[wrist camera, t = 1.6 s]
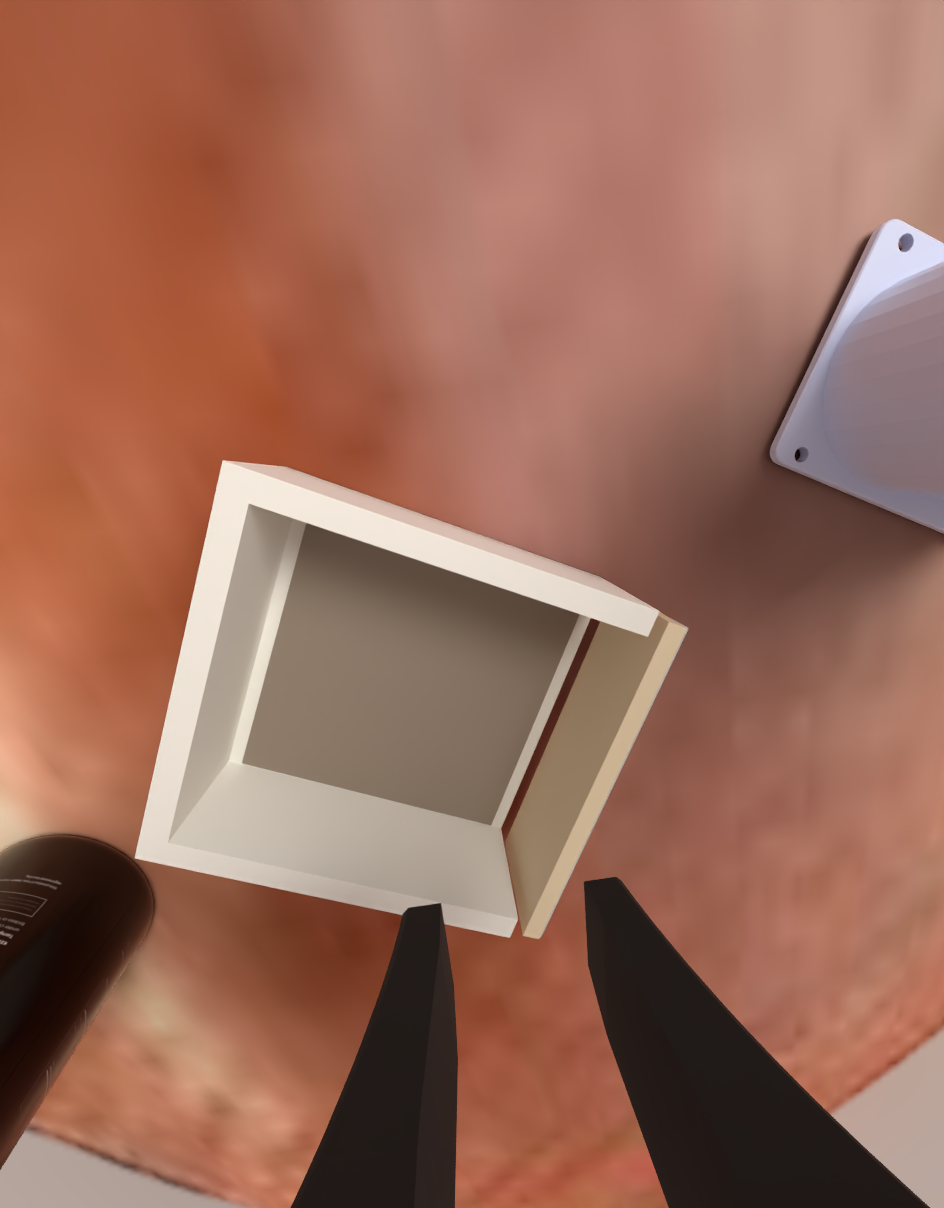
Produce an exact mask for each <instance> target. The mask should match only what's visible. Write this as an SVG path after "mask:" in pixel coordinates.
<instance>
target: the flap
mask: <svg viewBox="0 0 944 1208" xmlns="http://www.w3.org/2000/svg"><path fill="white" fill-rule="evenodd" d="M688 629H689V628H687V627H686V626H684V625H682V624H681V623H679V622H677V621H675V620H673V619H671V618H669V617H667V616H666V615H664V614H662V613H660V612H659V614H658V616H657V618H656V620H655V622H654V625H653V627H652V629H651V631H650V633H649V636H648V637H647V636H644V635H641V634H638V633H635V632H632V631H629V630H626V629H623V628H620V627H617V626H614V625H611V624H608V623H605V622H602V621H600V623H599V626H598V628H597V630H596V633H595V635H594V637H593V640H592V642H591V644H590V647H589V649H588V651H587V654H586V656H585V658H584V660H583V663H582V665H581V667H580V670H579V672H578V674H577V677H576V679H575V681H574V684H573V686H572V688H571V691H570V693H569V695H568V698H567V700H566V702H565V705H564V707H563V709H562V711H561V714H560V716H559V718H558V721H557V723H556V725H555V728H554V730H553V732H552V735H551V737H550V739H549V742H548V744H547V746H546V749H545V751H544V753H543V756H542V758H541V760H540V762H539V765H538V767H537V769H536V772H535V774H534V776H533V779H532V781H531V783H530V786H529V788H528V790H527V793H526V795H525V797H524V800H523V802H522V804H521V807H520V809H519V811H518V813H517V816H516V818H515V820H514V823H513V825H512V827H511V830H510V832H509V834H508V837H507V839H506V841H505V845H506V850H507V855H508V861H509V866H510V871H511V876H512V882H513V887H514V892H515V897H516V903H517V908H518V913H519V918H520V924H521V929H522V934H523V936H527V937H531V938H536V939H539V938H540V937H541V936H542V934H543V932H544V930H545V928H546V926H547V924H548V922H549V920H550V918H551V915H552V913H553V911H554V909H555V907H556V905H557V903H558V901H559V899H560V897H561V895H562V892H563V890H564V888H565V886H566V884H567V882H568V880H569V878H570V876H571V874H572V872H573V869H574V867H575V865H576V863H577V861H578V859H579V857H580V855H581V853H582V851H583V849H584V846H585V844H586V842H587V840H588V838H589V836H590V834H591V832H592V830H593V828H594V826H595V823H596V821H597V819H598V817H599V815H600V813H601V811H602V809H603V807H604V805H605V803H606V800H607V798H608V796H609V794H610V792H611V790H612V788H613V786H614V784H615V782H616V780H617V777H618V775H619V773H620V771H621V769H622V767H623V765H624V763H625V761H626V759H627V756H628V754H629V752H630V750H631V748H632V746H633V744H634V742H635V740H636V738H637V736H638V733H639V731H640V729H641V727H642V725H643V723H644V721H645V719H646V717H647V715H648V713H649V710H650V708H651V706H652V704H653V702H654V700H655V698H656V696H657V694H658V692H659V690H660V687H661V685H662V683H663V681H664V679H665V677H666V675H667V673H668V671H669V669H670V667H671V664H672V662H673V660H674V658H675V656H676V654H677V652H678V650H679V648H680V646H681V644H682V641H683V639H684V637H685V635H686V633H687V631H688Z"/></svg>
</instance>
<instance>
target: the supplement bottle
mask: <svg viewBox="0 0 944 1208" xmlns="http://www.w3.org/2000/svg"><path fill="white" fill-rule="evenodd" d="M152 915H153V897H152V892H151V889H150V886H149V883H148V881H147V880H146V878H145V876H144V875H143V873H142V872H141V870H140V869H139V868H138V867H137V865H136V864H135V863H134V862H133V861H132V860H130V859H129V858H128V857H127V856H125V855H124V854H123V853H121V852H120V851H118V850H116V849H114V848H113V847H110V846H108V845H106V844H104V843H101V842H99V841H95V840H92V839H88V838H84V837H78V836H68V835H53V836H44V837H38V838H33V839H29V840H26V841H23V842H20V843H17V844H15V845H13V846H11V847H9V848H7V849H5V850H3V851H2V852H0V1170H1V1168H2V1166H3V1165H4V1163H5V1162H6V1160H7V1158H8V1157H9V1155H10V1154H11V1152H12V1150H13V1149H14V1147H15V1145H16V1144H17V1142H18V1141H19V1139H20V1137H21V1136H22V1134H23V1133H24V1131H25V1129H26V1128H27V1126H28V1125H29V1123H30V1121H31V1120H32V1118H33V1117H34V1115H35V1113H36V1112H37V1110H38V1109H39V1107H40V1105H41V1104H42V1102H43V1101H44V1099H45V1097H46V1096H47V1094H48V1092H49V1091H50V1089H51V1088H52V1086H53V1084H54V1083H55V1081H56V1080H57V1078H58V1076H59V1075H60V1073H61V1072H62V1070H63V1068H64V1067H65V1065H66V1064H67V1062H68V1060H69V1059H70V1057H71V1055H72V1054H73V1052H74V1051H75V1049H76V1047H77V1046H78V1044H79V1043H80V1041H81V1039H82V1038H83V1036H84V1035H85V1033H86V1031H87V1030H88V1028H89V1027H90V1025H91V1023H92V1022H93V1020H94V1018H95V1017H96V1015H97V1014H98V1012H99V1010H100V1009H101V1007H102V1006H103V1004H104V1002H105V1001H106V999H107V998H108V996H109V994H110V993H111V991H112V990H113V988H114V986H115V985H116V983H117V982H118V980H119V978H120V977H121V975H122V973H123V972H124V970H125V969H126V967H127V965H128V964H129V962H130V961H131V959H132V957H133V955H134V954H135V952H136V950H137V949H138V947H139V945H140V944H141V942H142V940H143V939H144V937H145V935H146V933H147V931H148V929H149V927H150V923H151V920H152Z"/></svg>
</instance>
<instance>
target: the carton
mask: <svg viewBox="0 0 944 1208" xmlns="http://www.w3.org/2000/svg"><path fill="white" fill-rule="evenodd" d="M659 612H660V611H658V610H657V609H655V608H653V607H652V606H650V605H648V604H646V603H645V602H643V601H641V600H639V599H638V598H636V597H634V596H632V595H631V594H629V593H627V592H626V591H624V590H622V589H620V588H619V587H617V586H615V585H613V584H612V583H610V582H608V581H606V580H605V579H603V578H601V577H600V576H597V575H594V574H591V573H588V572H585V571H583V570H580V569H577V568H574V567H571V566H568V565H565V564H563V563H560V562H557V561H554V560H551V559H548V558H545V557H543V556H540V555H537V554H534V553H531V552H528V551H525V550H523V549H520V548H517V547H514V546H511V545H508V544H505V543H503V542H500V541H497V540H494V539H491V538H488V537H485V536H483V535H480V534H477V533H474V532H471V531H468V530H465V529H463V528H460V527H457V526H454V525H451V524H448V523H446V522H443V521H440V520H437V519H434V518H431V517H428V516H426V515H423V514H420V513H417V512H414V511H411V510H408V509H406V508H403V507H400V506H397V505H394V504H391V503H388V502H386V501H383V500H380V499H377V498H374V497H371V496H368V495H366V494H363V493H360V492H357V491H354V490H351V489H348V488H346V487H343V486H340V485H337V484H334V483H331V482H328V481H326V480H323V479H320V478H317V477H314V476H311V475H309V474H306V473H303V472H300V471H297V470H294V469H291V468H289V467H282V466H273V465H263V464H253V463H244V462H234V461H224V460H223V462H222V466H221V471H220V475H219V480H218V484H217V489H216V493H215V498H214V502H213V507H212V511H211V516H210V520H209V525H208V529H207V534H206V538H205V543H204V547H203V552H202V557H201V561H200V566H199V570H198V575H197V579H196V584H195V588H194V593H193V597H192V602H191V606H190V611H189V615H188V620H187V624H186V629H185V633H184V638H183V642H182V647H181V651H180V656H179V660H178V665H177V669H176V674H175V678H174V683H173V687H172V692H171V696H170V701H169V705H168V710H167V714H166V719H165V723H164V728H163V733H162V737H161V742H160V746H159V751H158V755H157V760H156V764H155V769H154V773H153V778H152V782H151V787H150V791H149V796H148V800H147V805H146V809H145V814H144V818H143V823H142V827H141V832H140V836H139V841H138V845H137V850H136V854H135V859H140V860H145V861H149V862H154V863H159V864H163V865H168V866H173V867H178V868H182V869H187V870H192V871H197V872H201V873H206V874H211V875H215V876H220V877H225V878H230V879H234V880H239V881H244V882H248V883H253V884H258V885H263V886H267V887H272V888H277V889H281V890H286V891H291V892H296V893H300V894H305V895H310V896H314V897H319V898H324V899H329V900H333V901H338V902H343V903H347V904H352V905H357V906H362V907H366V908H371V909H376V910H380V911H385V912H390V913H395V914H399V915H403V913H404V912H405V911H406V910H407V909H408V908H410V907H417V906H423V905H430V904H437V903H441V906H442V912H443V919H444V924H447V925H451V926H456V927H461V928H465V929H470V930H475V931H480V932H484V933H489V934H494V935H498V936H503V937H508V938H510V936H511V934H512V932H513V930H514V927H515V925H516V923H517V921H518V916H517V911H516V905H515V900H514V895H513V889H512V884H511V879H510V873H509V868H508V863H507V857H506V852H505V847H504V841H503V836H502V831H501V828H502V825H503V823H504V821H505V818H506V816H507V814H508V811H509V809H510V807H511V804H512V802H513V800H514V797H515V795H516V793H517V790H518V788H519V786H520V783H521V781H522V779H523V776H524V774H525V771H526V769H527V767H528V764H529V762H530V760H531V757H532V755H533V753H534V750H535V748H536V746H537V743H538V741H539V739H540V736H541V734H542V732H543V729H544V727H545V724H546V722H547V720H548V717H549V715H550V713H551V710H552V708H553V706H554V703H555V701H556V699H557V696H558V694H559V692H560V689H561V687H562V685H563V682H564V680H565V678H566V675H567V673H568V670H569V668H570V666H571V663H572V661H573V659H574V656H575V654H576V652H577V649H578V647H579V645H580V642H581V640H582V638H583V635H584V633H585V631H586V628H587V626H588V624H589V621H590V619H591V618H593V619H596V620H599V621H602V622H605V623H608V624H611V625H614V626H617V627H620V628H623V629H626V630H629V631H632V632H635V633H638V634H641V635H644V636H647V637H648V636H649V633H650V631H651V629H652V627H653V625H654V622H655V620H656V618H657V616H658V614H659Z"/></svg>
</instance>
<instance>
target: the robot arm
mask: <svg viewBox="0 0 944 1208" xmlns="http://www.w3.org/2000/svg"><path fill="white" fill-rule="evenodd" d="M899 241H900V242H901V244H902V249H901V251H900V249H899V247H898V242H899ZM797 449H799V450H800V458H799V459H798V460H797V461H796V460H795V457H794V455H795V452H796V451H797ZM770 457H771V459H772V461H773V462H774V463H776V464H778V465H780V466H783V467H785V468H787V469H790V470H792V471H795V472H797V473H799V474H802V475H804V476H807V477H809V478H811V479H814V480H816V481H818V482H821V483H823V484H826V485H828V486H830V487H833V488H835V489H838V490H840V491H842V492H845V493H847V494H850V495H852V496H854V497H857V498H859V499H862V500H864V501H866V502H869V503H871V504H873V505H876V506H878V507H881V508H883V509H885V510H888V511H890V512H893V513H895V514H897V515H900V516H902V517H905V518H907V519H909V520H912V521H914V522H917V523H919V524H921V525H924V526H926V527H928V528H931V529H933V530H936V531H938V532H940V533H943V534H944V243H942V242H940V241H938V240H936V239H935V238H933V237H931V236H929V235H927V234H925V233H923V232H922V231H920V230H918V229H916V228H914V227H912V226H910V225H909V224H907V223H905V222H903V221H901V220H898V219H892V220H889V221H887V222H885V223H884V224H882V225H880V226H879V227H878V228H876V229H875V230H874V232H873V233H872V235H871V237H870V239H869V241H868V243H867V245H866V247H865V250H864V252H863V254H862V256H861V258H860V260H859V262H858V264H857V266H856V268H855V271H854V273H853V275H852V277H851V279H850V281H849V283H848V285H847V287H846V290H845V292H844V294H843V296H842V298H841V300H840V302H839V304H838V306H837V308H836V311H835V313H834V315H833V317H832V319H831V321H830V323H829V325H828V327H827V329H826V332H825V334H824V336H823V338H822V340H821V342H820V344H819V346H818V348H817V350H816V353H815V355H814V357H813V359H812V361H811V363H810V365H809V367H808V369H807V372H806V374H805V376H804V378H803V380H802V382H801V384H800V386H799V388H798V390H797V393H796V395H795V397H794V399H793V401H792V403H791V405H790V407H789V409H788V411H787V414H786V416H785V418H784V420H783V422H782V424H781V426H780V428H779V430H778V432H777V435H776V437H775V439H774V441H773V443H772V445H771V448H770ZM584 891H585V911H586V930H587V950H588V966H589V970H590V974H591V977H592V981H593V985H594V989H595V993H596V996H597V1000H598V1004H599V1007H600V1011H601V1015H602V1018H603V1022H604V1026H605V1029H606V1033H607V1036H608V1039H609V1042H610V1045H611V1048H612V1050H613V1053H614V1056H615V1059H616V1062H617V1064H618V1067H619V1070H620V1073H621V1076H622V1079H623V1081H624V1084H625V1087H626V1090H627V1093H628V1095H629V1098H630V1101H631V1104H632V1106H633V1109H634V1112H635V1115H636V1118H637V1120H638V1123H639V1126H640V1129H641V1131H642V1134H643V1137H644V1140H645V1143H646V1145H647V1148H648V1151H649V1154H650V1156H651V1159H652V1162H653V1165H654V1168H655V1170H656V1173H657V1176H658V1179H659V1181H660V1184H661V1187H662V1190H663V1193H664V1195H665V1198H666V1201H667V1204H668V1207H669V1208H930V1207H929V1206H927V1205H926V1204H925V1203H924V1202H923V1201H922V1200H921V1199H920V1198H919V1197H918V1196H916V1195H915V1194H914V1193H913V1192H912V1191H911V1190H910V1189H909V1188H908V1187H907V1186H906V1185H905V1184H903V1183H902V1182H901V1181H900V1180H899V1179H898V1178H897V1177H896V1176H895V1175H894V1174H893V1173H891V1172H890V1171H889V1170H888V1169H887V1168H886V1167H885V1166H884V1165H883V1164H882V1163H881V1162H880V1161H878V1160H877V1159H876V1158H875V1157H874V1156H873V1155H872V1154H871V1153H870V1152H869V1151H868V1150H867V1149H865V1148H864V1147H863V1146H862V1145H861V1144H860V1143H859V1142H858V1141H857V1140H856V1139H855V1138H854V1137H853V1136H852V1135H851V1134H850V1133H849V1132H848V1131H847V1130H846V1129H845V1128H844V1127H843V1126H841V1125H840V1124H839V1123H838V1122H837V1121H836V1120H835V1119H834V1118H833V1117H832V1116H831V1115H830V1114H829V1113H828V1112H827V1111H826V1110H825V1109H824V1108H823V1107H822V1106H821V1105H820V1104H819V1103H818V1102H817V1101H816V1100H815V1099H814V1098H813V1097H812V1096H811V1095H810V1094H809V1093H808V1092H807V1091H806V1090H805V1089H804V1088H803V1087H801V1086H800V1084H799V1083H798V1082H797V1081H796V1080H795V1079H794V1078H793V1077H792V1076H791V1075H790V1074H789V1073H788V1072H787V1071H786V1070H785V1069H784V1068H783V1067H782V1066H781V1065H780V1064H779V1063H778V1062H777V1061H776V1060H775V1059H774V1058H773V1057H772V1056H771V1055H770V1054H769V1053H768V1052H767V1051H766V1050H765V1048H764V1047H763V1046H762V1045H761V1044H760V1043H759V1042H758V1041H757V1040H756V1039H755V1038H754V1037H753V1036H752V1035H751V1034H750V1033H749V1032H748V1031H747V1030H746V1029H745V1027H744V1026H743V1025H742V1024H741V1023H740V1022H739V1021H738V1020H737V1019H736V1018H735V1017H734V1016H733V1014H732V1013H731V1012H730V1011H729V1010H728V1009H727V1008H726V1007H725V1006H724V1005H723V1003H722V1002H721V1001H720V1000H719V999H718V998H717V997H716V996H715V994H714V993H713V992H712V991H711V990H710V989H709V988H708V986H707V985H706V984H705V983H704V982H703V981H702V980H701V979H700V977H699V976H698V975H697V974H696V973H695V972H694V971H693V969H692V968H691V967H690V966H689V965H688V964H687V963H686V961H685V960H684V959H683V958H682V957H681V956H680V954H679V953H678V952H677V951H676V950H675V948H674V947H673V946H672V945H671V944H670V942H669V941H668V940H667V939H666V937H665V936H664V935H663V934H662V933H661V931H660V930H659V929H658V928H657V926H656V925H655V924H654V923H653V921H652V920H651V919H650V918H649V916H648V915H647V914H646V913H645V911H644V910H643V909H642V908H641V906H640V905H639V904H638V902H637V901H636V900H635V898H634V897H633V896H632V894H631V893H630V892H629V890H628V889H627V888H626V886H625V885H624V884H623V882H622V881H621V880H619V879H618V878H617V877H612V878H605V879H599V880H592V881H585V882H584ZM457 1070H458V1056H457V1036H456V1017H455V999H454V984H453V978H452V971H451V965H450V958H449V952H448V945H447V938H446V932H445V925H444V919H443V912H442V906H441V903H437V904H430V905H423V906H417V907H410V908H408V909H407V910H406V911H405V912H404V913H403V916H402V920H401V924H400V928H399V932H398V936H397V940H396V943H395V947H394V950H393V954H392V957H391V960H390V963H389V966H388V970H387V973H386V976H385V979H384V982H383V985H382V988H381V991H380V994H379V997H378V999H377V1002H376V1005H375V1008H374V1010H373V1013H372V1016H371V1018H370V1021H369V1024H368V1027H367V1029H366V1032H365V1035H364V1038H363V1040H362V1043H361V1046H360V1048H359V1051H358V1054H357V1056H356V1059H355V1061H354V1064H353V1066H352V1069H351V1071H350V1073H349V1076H348V1078H347V1081H346V1083H345V1085H344V1088H343V1090H342V1093H341V1095H340V1097H339V1100H338V1102H337V1105H336V1107H335V1110H334V1112H333V1114H332V1117H331V1119H330V1122H329V1124H328V1126H327V1129H326V1131H325V1133H324V1136H323V1138H322V1140H321V1143H320V1145H319V1147H318V1149H317V1152H316V1154H315V1156H314V1158H313V1160H312V1163H311V1165H310V1167H309V1169H308V1172H307V1174H306V1176H305V1178H304V1180H303V1182H302V1185H301V1187H300V1189H299V1191H298V1193H297V1196H296V1198H295V1200H294V1202H293V1204H292V1206H291V1208H455V1169H456V1122H457Z"/></svg>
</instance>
